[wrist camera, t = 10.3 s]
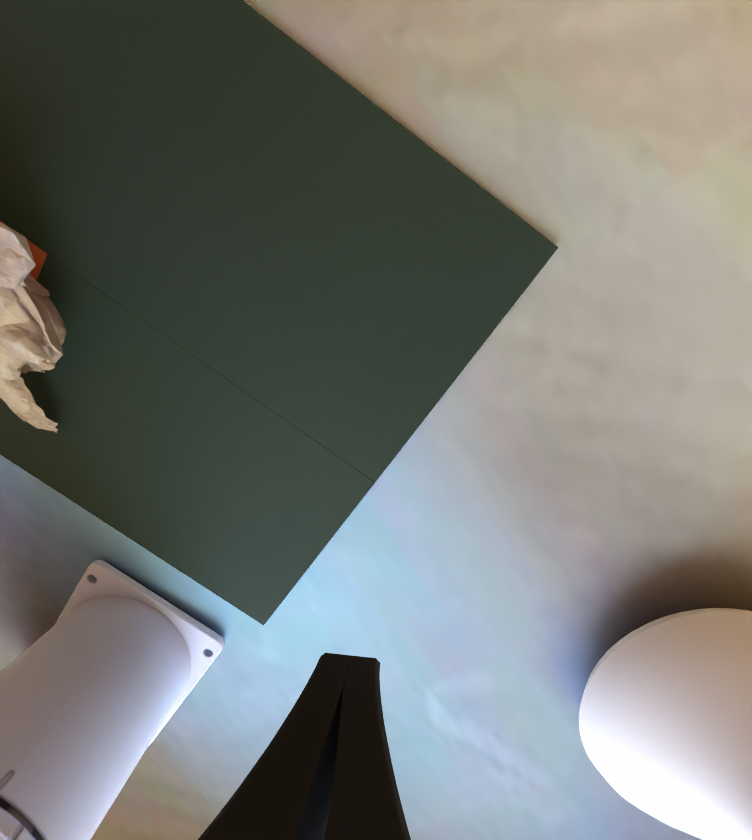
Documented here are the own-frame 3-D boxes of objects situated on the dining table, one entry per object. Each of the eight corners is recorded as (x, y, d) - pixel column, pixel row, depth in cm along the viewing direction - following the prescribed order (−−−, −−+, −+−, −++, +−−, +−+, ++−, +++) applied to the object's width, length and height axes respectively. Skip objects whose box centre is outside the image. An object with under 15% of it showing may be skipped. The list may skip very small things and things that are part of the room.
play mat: (264, 622, 21) (263, 625, 21) (-232, 299, 19) (-239, 299, 19) (556, 248, 15) (558, 247, 15) (-105, -268, 13) (-112, -277, 13)
